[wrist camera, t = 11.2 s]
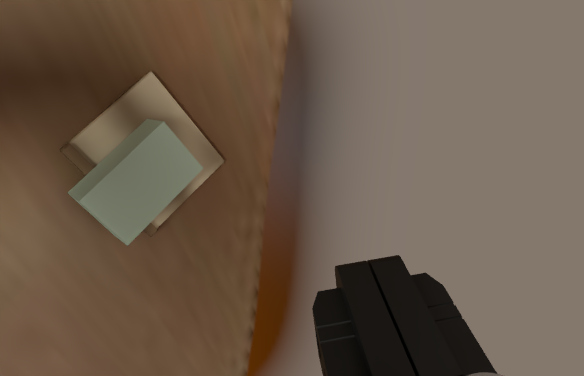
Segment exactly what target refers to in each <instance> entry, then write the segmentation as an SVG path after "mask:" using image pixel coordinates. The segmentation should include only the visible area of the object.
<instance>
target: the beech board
mask: <svg viewBox="0 0 584 376" xmlns="http://www.w3.org/2000/svg"><path fill="white" fill-rule="evenodd" d="M146 119H152V120H158V121H164V122H165V124H166V125H167V126H168V127H169V128H170V129H171V131H172V132H173V133H174V134H175V135H176V137H177V138H178V139H179V140H180V141H181V142H182V144H183V145H184V146H185V147H186V148H187V149H188V151H189V152H190V153H191V154H192V155H193V157H194V158H195V159H196V160H197V161H198V162H199V164H200V165H201V166H202V167H203V169H202V170H201V171H200V172H199V173H198V174H197V175H196V176H195V177H194V179H193V180H192V181H191V182H190V183H189V184H188V185H187V186H186V187H185V188H184V189H183V190H182V191H181V192H180V193H179V194H178V195H177V196H176V197H175V198H174V199H173V200H172V201H171V202H170V203H169V204H168V205H167V206H166V207H165V208H164V209H163V210H162V211H161V212H160V213H159V214H158V215H157V216H156V217H155V218H154V219H153V220H152V222H151V223H150V224H149V225H148V226H147V227H146V228H145V229H144V231H145V232H146V233H147V234H148V235H149V236H150V237H151V236H152V235H153V234H154V233H155V232H156V231H157V230H158V229H157V228H158V227H159V226H160V225H161V224H162V223H163V222H164V221H165V220H166V219H167V218H168V217H169V216H170V215H171V214H172V213H173V212H174V211H175V210H176V209H177V208H178V207H179V206H180V205H181V204H182V203H183V202H184V201H185V200H186V199H187V198H188V197H189V196H190V195H191V194H192V193H193V192H194V191H195V190H196V189H197V188H198V187H199V186H200V185H201V184H202V183H203V182H204V181H205V180H206V179H207V178H208V177H209V176H210V175H211V174H212V173H213V172H214V171H215V170H216V169H217V168H218V167H219V166H220V165H222V164H223V163H224V162H225V161H224V160H223V159H222V157H221V156H220V155H219V154H218V152H217V151H216V150H215V149H214V148H213V146H212V145H211V144H210V143H209V141H208V140H207V139H206V138H205V136H204V135H203V134H202V133H201V132H200V130H199V129H198V128H197V127H196V125H195V124H194V123H193V122H192V121H191V119H190V118H189V117H188V116H187V114H186V113H185V112H184V111H183V109H182V108H181V107H180V106H179V105H178V103H177V102H176V101H175V100H174V98H173V97H172V96H171V95H170V94H169V92H168V91H167V90H166V89H165V87H164V86H163V85H162V84H161V82H160V81H159V80H158V79H157V78H156V76H155V75H154V74H153V73H152V72H149V73H148V74H146V75H145V76H144V77H143V78H142V79H141V80H139V81H138V82H137V83H136V84H135V85H134V86H133V87H131V88H130V89H129V90H128V91H127V92H126V93H125V94H123V95H122V96H121V97H120V98H119V99H118V100H116V101H115V102H114V103H113V104H112V105H111V106H110V107H108V108H107V109H106V110H105V111H104V112H103V113H101V114H100V115H99V116H98V117H97V118H96V119H95V120H93V121H92V122H91V123H90V124H89V125H88V126H87V127H85V128H84V129H83V130H82V131H81V132H80V133H78V134H77V135H76V136H75V137H74V138H73V139H72V140H70V141H69V142H68V143H67V144H66V145H65V146H64V147H62V148H61V149H60V151H61V152H62V153H63V154H64V155H65V156H66V157H68V158H69V159H70V160H71V161H72V162H73V163H74V164H75V165H76V166H77V167H78V168H79V169H80V170H81V171H82V172H83V173H84V174H85V175H87V174H88V173H89V172H90V171H91V170H92V169H93V168H95V167H96V166H97V165H98V164H99V163H100V162H101V161H102V160H103V159H104V158H105V157H106V156H107V155H109V154H110V153H111V152H112V151H113V150H114V149H115V148H116V147H117V146H118V145H119V144H120V143H122V142H123V141H124V140H125V139H126V138H127V137H128V136H129V135H130V134H131V133H132V132H133V131H134V130H136V129H137V128H138V127H139V126H140V125H141V124H142V123H143V122H144V121H145V120H146Z"/></svg>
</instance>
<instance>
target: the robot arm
mask: <svg viewBox="0 0 584 376" xmlns="http://www.w3.org/2000/svg"><path fill="white" fill-rule="evenodd" d="M335 276H336V286H337V288H336V289H330V290H325V291H319V292H318V293H317V296H316V299H315V302H314V305H313V317H314V324H315V331H316V338H317V346H318V353H319V359H320V363H321V368H322V373H323V376H503V375H500V374H497V372H496V371H495V370H494V368H493V366H492V365H491V363H490V361H489V360H488V358H487V356H486V355H485V353H484V352H483V350H482V348H481V347H480V345H479V343H478V342H477V340H476V339H475V337H474V335H473V334H472V332H471V330H470V329H469V327H468V325H467V324H466V322H465V321H464V319H462V316H461V314H460V313H459V311H458V309H457V307H456V306H455V305H454V304H453V301H452V299H451V298H450V296H449V294H448V293H447V291H446V289H445V288H444V286H443V285H442V284H440V283H439V282H438V281H436V280H435V279H434V278H432V277H430V276H429V275H428V274H427V273H422V274H417V275H410V274H409V272H408V270H407V268H406V266H405V264H404V262H403V261H402V259H401V257H400V256H399V255H396V256H391V257H385V258H379V259H374V260H368V261H362V262H355V263H350V264H344V265H338V266H335Z"/></svg>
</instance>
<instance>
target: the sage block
mask: <svg viewBox="0 0 584 376" xmlns="http://www.w3.org/2000/svg"><path fill="white" fill-rule="evenodd" d="M202 169H203V167H202V166H201V165H200V164H199V162H198V161H197V160H196V159H195V158H194V157H193V155H192V154H191V153H190V152H189V151H188V149H187V148H186V147H185V146H184V145H183V144H182V142H181V141H180V140H179V139H178V138H177V137H176V135H175V134H174V133H173V132H172V131H171V129H170V128H169V127H168V126H167V125H166V124H165V122H164V121H158V120H152V119H146V120H145V121H144V122H143V123H142V124H141V125H140V126H139V127H138V128H137V129H136V130H134V131H133V132H132V133H131V134H130V135H129V136H128V137H127V138H126V139H125V140H124V141H123V142H122V143H120V144H119V145H118V146H117V147H116V148H115V149H114V150H113V151H112V152H111V153H110V154H109V155H107V156H106V157H105V158H104V159H103V160H102V161H101V162H100V163H99V164H98V165H97V166H96V167H95V168H93V169H92V170H91V171H90V172H89V173H88V174H87V175H86V176H85V177H84V178H83V179H82V180H81V181H79V182H78V183H77V184H76V185H75V186H74V187H73V188H72V189H71V190H70V191H69V192H68V194H69V195H70V196H71V197H72V198H73V199H75V200H76V201H77V202H78V203H79V204H80V205H81V206H82V207H83V208H84V209H86V210H87V211H88V212H89V213H90V214H91V215H92V216H93V217H94V218H95V219H97V220H98V221H99V222H100V223H101V224H102V225H103V226H104V227H105V228H106V229H108V230H109V231H110V232H111V233H112V234H113V235H114V236H115V237H117V238H118V239H119V240H121V241H122V242H123V243H124V244H126V245H127V246H128V245H129V244H130V243H131V242H132V241H133V240H134V239H135V238H136V237H137V236H138V235H139V234H140V233H141V232H142V231H143V230H144V229H145V228H146V227H147V226H148V225H149V224H150V223H151V222H152V220H153V219H154V218H155V217H156V216H157V215H158V214H159V213H160V212H161V211H162V210H163V209H164V208H165V207H166V206H167V205H168V204H169V203H170V202H171V201H172V200H173V199H174V198H175V197H176V196H177V195H178V194H179V193H180V192H181V191H182V190H183V189H184V188H185V187H186V186H187V185H188V184H189V183H190V182H191V181H192V180H193V179H194V177H195V176H196V175H197V174H198V173H199V172H200V171H201V170H202Z"/></svg>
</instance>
